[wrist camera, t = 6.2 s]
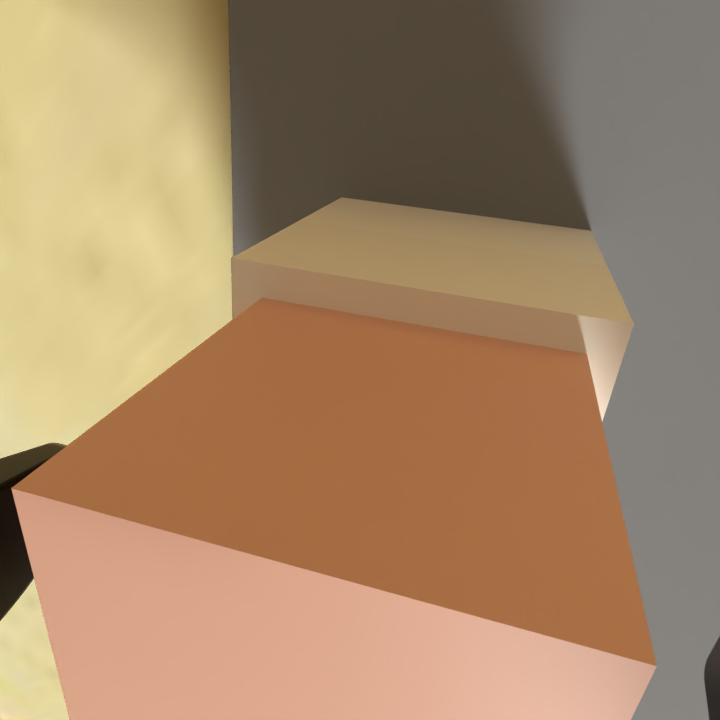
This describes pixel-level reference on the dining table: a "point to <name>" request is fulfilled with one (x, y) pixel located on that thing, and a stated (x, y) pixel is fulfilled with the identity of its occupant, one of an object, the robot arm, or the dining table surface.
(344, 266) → the slab upper
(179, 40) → the dining table surface
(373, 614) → the cube
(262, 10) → the placemat
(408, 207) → the slab lower
